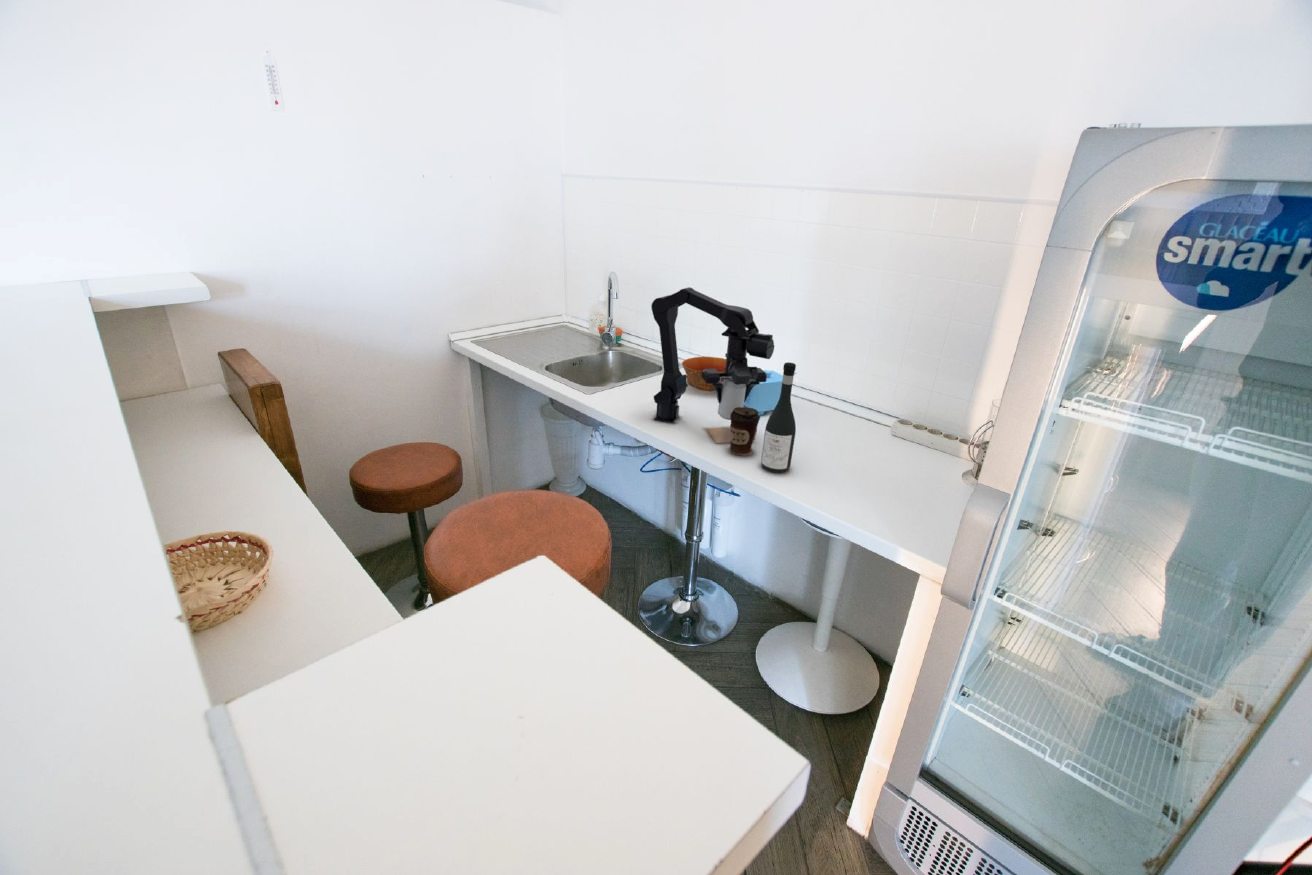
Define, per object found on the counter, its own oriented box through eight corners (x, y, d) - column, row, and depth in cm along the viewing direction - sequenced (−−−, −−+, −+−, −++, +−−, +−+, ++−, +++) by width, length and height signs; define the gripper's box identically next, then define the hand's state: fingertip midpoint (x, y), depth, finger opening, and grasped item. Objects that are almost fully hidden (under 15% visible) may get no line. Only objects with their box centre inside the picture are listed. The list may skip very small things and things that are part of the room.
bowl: (672, 381, 225) (674, 356, 221) (723, 378, 231) (725, 354, 227) (691, 400, 207) (693, 373, 203) (745, 396, 213) (748, 370, 209)
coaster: (716, 443, 173) (716, 442, 173) (706, 429, 183) (706, 428, 183) (750, 441, 176) (750, 441, 176) (739, 427, 185) (739, 427, 185)
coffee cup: (745, 460, 163) (750, 418, 158) (720, 452, 168) (724, 410, 163) (760, 451, 170) (765, 410, 165) (735, 443, 174) (740, 402, 169)
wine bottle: (785, 476, 156) (801, 370, 143) (757, 469, 159) (770, 365, 147) (792, 465, 162) (808, 362, 150) (765, 458, 165) (779, 357, 153)
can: (739, 412, 181) (744, 376, 176) (743, 421, 174) (749, 384, 169) (715, 411, 180) (720, 374, 175) (719, 420, 173) (723, 382, 168)
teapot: (748, 417, 193) (753, 378, 188) (731, 406, 203) (735, 368, 197) (801, 410, 202) (807, 372, 197) (782, 399, 211) (787, 363, 206)
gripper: (714, 361, 160) (709, 413, 166) (777, 360, 163) (770, 411, 170) (703, 350, 169) (699, 399, 176) (762, 349, 173) (756, 398, 180)
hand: (731, 402), depth 175 cm, fingers closed on can, 7 cm apart
